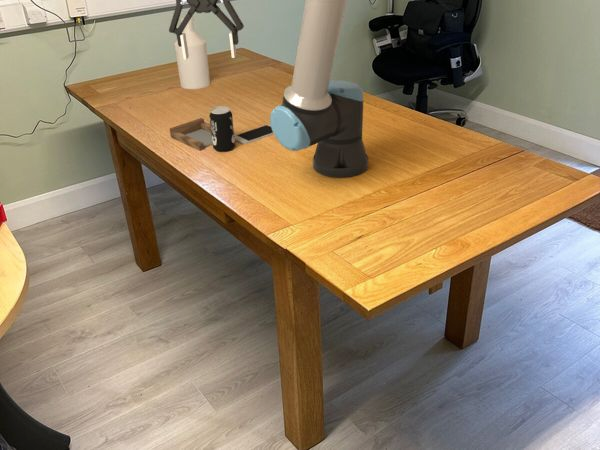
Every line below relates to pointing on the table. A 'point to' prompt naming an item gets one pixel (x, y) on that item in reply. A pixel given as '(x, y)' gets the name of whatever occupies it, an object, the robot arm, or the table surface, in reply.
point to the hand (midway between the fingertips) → (210, 57)
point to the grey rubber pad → (202, 137)
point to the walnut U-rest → (190, 127)
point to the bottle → (193, 60)
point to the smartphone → (254, 134)
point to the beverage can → (222, 129)
